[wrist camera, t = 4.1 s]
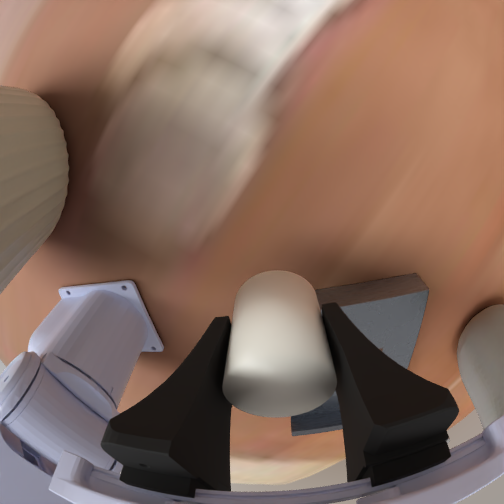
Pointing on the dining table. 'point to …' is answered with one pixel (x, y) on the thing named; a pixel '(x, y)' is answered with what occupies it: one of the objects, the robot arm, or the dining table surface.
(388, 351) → the jig
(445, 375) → the dining table surface
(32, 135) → the canister
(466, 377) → the grey green bottle
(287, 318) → the white rounded capsule
